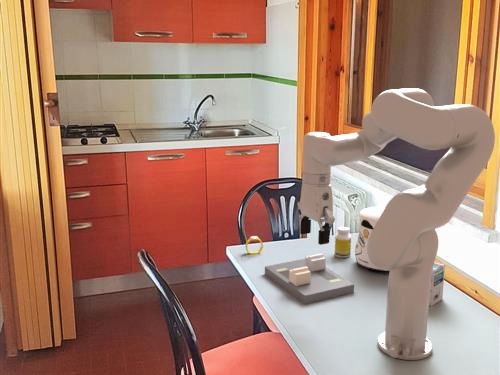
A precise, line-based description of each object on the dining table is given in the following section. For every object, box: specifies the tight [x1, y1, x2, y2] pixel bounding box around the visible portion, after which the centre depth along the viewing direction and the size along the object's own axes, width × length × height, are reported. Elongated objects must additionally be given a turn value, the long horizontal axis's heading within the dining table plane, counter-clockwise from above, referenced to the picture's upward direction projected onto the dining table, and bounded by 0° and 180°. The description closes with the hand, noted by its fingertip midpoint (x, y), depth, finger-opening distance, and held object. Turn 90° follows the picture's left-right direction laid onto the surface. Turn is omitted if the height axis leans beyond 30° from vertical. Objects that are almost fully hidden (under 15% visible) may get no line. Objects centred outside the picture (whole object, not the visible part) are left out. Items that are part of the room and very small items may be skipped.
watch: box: [245, 235, 264, 255], centre depth 196 cm, size 6×3×6 cm, turn 102°
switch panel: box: [264, 258, 355, 305], centre depth 171 cm, size 24×17×2 cm
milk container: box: [354, 206, 387, 272], centre depth 183 cm, size 17×17×18 cm
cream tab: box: [289, 266, 311, 286], centre depth 165 cm, size 4×5×4 cm
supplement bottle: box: [334, 226, 352, 259], centre depth 193 cm, size 5×5×10 cm
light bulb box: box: [429, 261, 446, 307], centre depth 160 cm, size 11×7×11 cm, turn 47°
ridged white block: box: [304, 253, 327, 272], centre depth 176 cm, size 4×5×4 cm
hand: (314, 238), depth 156 cm, fingers open, 8 cm apart
